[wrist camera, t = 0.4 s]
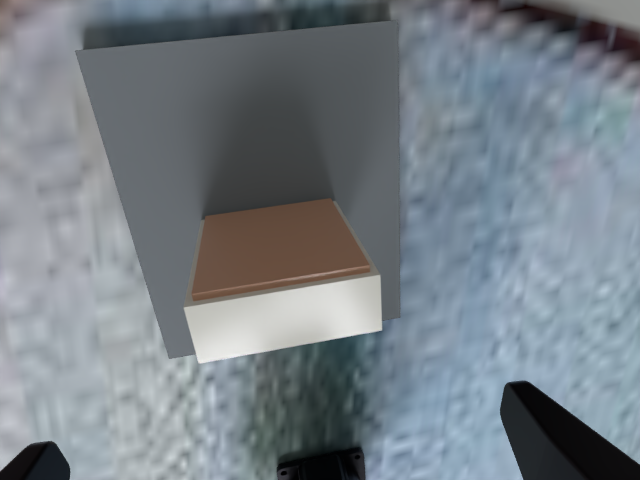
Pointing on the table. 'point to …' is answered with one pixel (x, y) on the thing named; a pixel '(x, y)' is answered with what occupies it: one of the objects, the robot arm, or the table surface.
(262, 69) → the mat
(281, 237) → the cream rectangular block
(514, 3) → the table surface
